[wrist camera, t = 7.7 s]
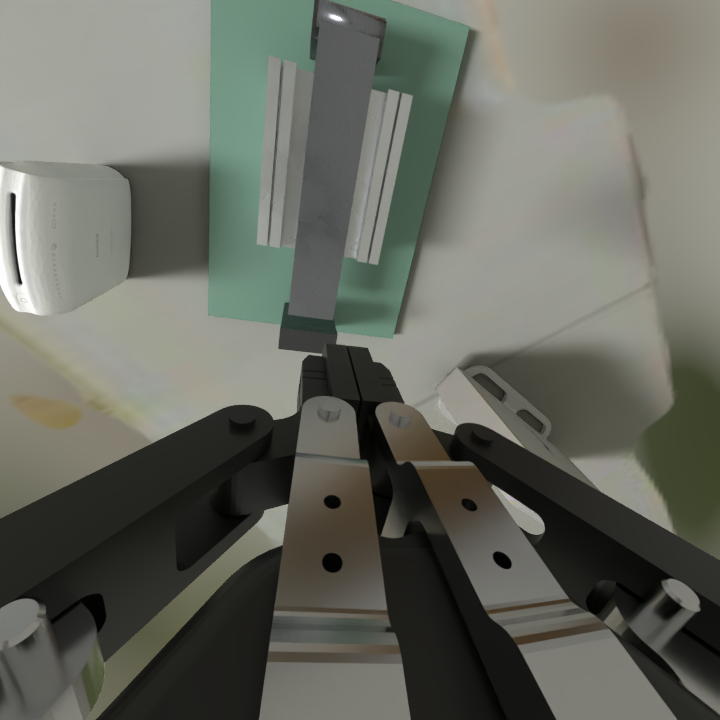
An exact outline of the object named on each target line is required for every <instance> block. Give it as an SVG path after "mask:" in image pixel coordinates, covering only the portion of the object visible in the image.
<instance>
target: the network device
mask: <svg viewBox="0 0 720 720" xmlns="http://www.w3.org/2000/svg"><path fill="white" fill-rule="evenodd" d="M479 373H483V374H485V375H487V376H488V377H489V378H490V379H491V380H492V381H494V382H495V383H496V384H497V385H498V386H499V387H501V388H502V389H503V390H504V391H505V395H504V397H503V399H502V400H501V401H499V400H498V399H497V398H496V397H494V396H493V395H492V394H491V393H490V392H488V391H487V390H486V389H485V388H484V387H482V386H481V385H480V384H479V383H477V382H476V381H475V380H474V379H473V378H472V377H473V376H474V375H476V374H479ZM435 390H436V392H437V393H438V395H439V396H440V397H439V401H438V406H439V409H440V411H441V413H442V414H443V415H444V416H445V417H446V418H447V419H449V420H450V421H451V422H453V423H454V424H456V425H457V426H458V425H460V424H462V423H476V424H480V425H483V426H485V427H488V428H490V429H492V430H494V431H495V432H497V433H499V434H501V435H502V436H504V437H506V438H507V439H509V440H511V441H513V442H514V443H516V444H518V445H520V446H521V447H523V448H525V449H527V450H528V451H530V452H532V453H534V454H535V455H537V456H539V457H541V458H542V459H544V460H546V461H548V462H549V463H551V464H553V465H554V466H556V467H558V468H560V469H561V470H563V471H565V472H567V473H568V474H570V475H572V476H574V477H575V478H577V479H579V480H581V481H582V482H584V483H586V484H588V485H589V486H591V487H593V488H595V489H596V490H598V489H597V487H596V486H595V485H594V484H593V483H592V482H591V481H590V480H589V479H588V478H587V477H586V476H585V475H584V474H583V473H582V472H581V471H580V470H579V469H578V468H577V467H576V466H575V465H574V464H573V463H572V462H571V461H570V460H569V459H568V458H567V457H566V456H565V455H564V454H563V453H562V452H561V451H560V450H559V449H558V448H556V447H555V446H554V445H553V444H552V443H550V442H549V441H548V440H547V439H546V438H547V437H548V436H549V434H550V432H551V428H552V427H551V422H550V420H549V419H548V418H547V417H546V416H545V415H543V414H542V413H541V412H540V411H539V410H538V409H537V408H535V407H534V406H533V405H532V404H531V403H530V402H528V401H527V400H526V399H525V398H524V397H523V396H522V395H520V394H519V393H518V392H517V391H516V390H515V389H513V388H512V387H511V386H510V385H509V384H508V383H507V382H505V381H504V380H503V379H502V378H501V377H500V376H499V375H497V374H496V373H495V372H494V371H493V370H492V369H490V368H489V367H487V366H483V365H477V366H473V367H470V368H468V369H466V370H465V371H463V370H462V369H460V368H459V367H458V366H457V367H456V368H455V369H454V370H453V371H452V372H451V373H450V374H449V375H448V376H447V377H446V378H445V379H444V380H443V381H442V382H441V383H440V384H439V385H438V386H437V387H436V388H435ZM446 407H447V408H446ZM522 409H525V410H528V411H529V412H530V413H531V414H532V415H534V416H535V417H536V418H537V419H538V420H539V421H541V422H542V423H543V428H542V430H541V431H540V432H539V433H538V432H537V431H536V430H535V429H533V428H532V427H531V426H530V425H528V424H527V423H526V422H525V421H524V420H522V419H521V418H520V417H519V416H518V415H516V413H517V411H519V410H522ZM499 490H500V491H501V492H502V494H503V495H504V496H505V497H506V498H507V499H508V500H509V501H510V502H511V503H512V504H513V505H514V506H515V507H516V508H518V509H519V510H521V511H522V512H524V513H525V514H527V515H528V516H530V517H531V518H533V519H534V520H536V521H538V522H539V523H541V524H542V525H544V523H543V521H542V519H541V518H540V516H539V515H538V514H537V513H535V512H534V511H532V510H531V509H529V508H528V507H526V506H525V505H523V504H522V503H520V502H519V501H517V500H516V499H514V498H513V497H511V496H510V495H508V494H507V493H505V492H504V491H502V490H501V489H499ZM598 491H599V490H598ZM544 526H545V525H544Z"/></svg>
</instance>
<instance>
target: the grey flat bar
mask: <svg viewBox="0 0 720 720" xmlns="http://www.w3.org/2000/svg"><path fill="white" fill-rule="evenodd" d="M385 26H386V18H382V17H379V16H376V15H373V14H370V13H367V12H364V11H361V10H358V9H355V8H352V7H349V6H346V5H342V4H339V3H336V2H333V1H330V0H319V3H318V13H317V23H316V27H319V34H318V43H317V52H316V61H315V70H314V80H313V89H312V98H311V107H310V116H309V125H308V135H307V144H306V153H305V162H304V171H303V181H302V190H301V199H300V208H299V217H298V226H297V236H296V245H295V254H294V263H293V272H292V282H291V291H290V300H289V309H288V315H295V316H303V317H310V318H318V319H325V320H333V317H334V311H335V305H336V299H337V293H338V287H339V281H340V275H341V269H342V263H343V257H344V251H345V245H346V239H347V233H348V227H349V221H350V215H351V209H352V203H353V197H354V191H355V185H356V179H357V173H358V167H359V161H360V155H361V149H362V143H363V137H364V131H365V125H366V119H367V113H368V107H369V101H370V95H371V89H372V83H373V77H374V71H375V65H376V59H377V53H378V47H379V46H381V44H382V41H383V37H384V32H385Z"/></svg>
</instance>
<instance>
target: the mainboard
mask: <svg viewBox="0 0 720 720" xmlns="http://www.w3.org/2000/svg"><path fill="white" fill-rule="evenodd" d="M330 1H333V2H336V3H339V4H342V5H346V6H349V7H352V8H355V9H358V10H361V11H364V12H367V13H370V14H373V15H376V16H379V17H382V18H386V22H387V24H386V30H385V36H384V41H383V47H382V53H381V58H380V60H379V62H378V63H377V65H376V67H375V71H374V77H373V83H372V89H373V90H377V91H380V92H384V93H386V92H387V91H388V89H391V90H394V91H398V92H400V93H399V95H401V94H402V93H405V94H408V95H412V96H413V98H412V103H411V108H410V113H409V118H408V122H407V127H406V132H405V137H404V142H403V146H402V151H401V156H400V161H399V166H398V170H397V175H396V180H395V185H394V190H393V194H392V199H391V204H390V209H389V214H388V218H387V223H386V228H385V233H384V237H383V242H382V247H381V252H380V257H379V261H378V265H375V264H370V263H368V262H367V263H364V262H358V261H357V260H356V259H354V258H348V257H343V263H342V269H341V275H340V281H339V287H338V293H337V299H336V305H335V311H334V322H335V326H336V331H337V332H343V333H351V334H359V335H367V336H375V337H383V338H391V339H393V335H394V331H395V327H396V323H397V319H398V315H399V311H400V307H401V303H402V299H403V295H404V291H405V287H406V283H407V279H408V275H409V271H410V267H411V263H412V258H413V254H414V250H415V246H416V242H417V238H418V234H419V230H420V226H421V222H422V218H423V214H424V210H425V206H426V202H427V198H428V194H429V190H430V186H431V182H432V178H433V174H434V170H435V166H436V162H437V157H438V153H439V149H440V145H441V141H442V137H443V133H444V129H445V125H446V121H447V117H448V113H449V109H450V105H451V101H452V97H453V93H454V89H455V85H456V81H457V77H458V73H459V69H460V65H461V61H462V57H463V52H464V48H465V44H466V40H467V36H468V32H469V28H470V27H468V26H465V25H462V24H459V23H456V22H453V21H450V20H447V19H445V18H442V17H439V16H436V15H433V14H430V13H427V12H424V11H421V10H418V9H415V8H412V7H409V6H406V5H403V4H400V3H397V2H394V1H391V0H330ZM313 10H314V0H211V81H210V189H209V298H208V316H216V317H224V318H232V319H240V320H248V321H256V322H264V323H272V324H280V325H281V321H282V315H283V309H284V303H289V300H290V291H291V282H292V272H293V263H294V254H295V248H290V247H284V246H280V248H276V247H270V244H268V245H267V246H264V245H258V244H257V231H258V215H259V200H260V184H261V168H262V153H263V137H264V122H265V106H266V90H267V75H268V59H269V55H270V56H273V57H277V58H281V60H282V64H283V65H284V60H288V61H291V62H295V63H297V68H298V69H301V70H305V71H308V72H312V73H314V70H315V61H314V60H311V59H310V41H311V29H312V19H313Z"/></svg>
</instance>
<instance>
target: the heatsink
mask: <svg viewBox="0 0 720 720" xmlns="http://www.w3.org/2000/svg"><path fill="white" fill-rule="evenodd" d="M318 3H319V0H314V10H313V19H312V29H311V41H310V59H311V60H314V61H316V52H317V43H318V34H319V27H316V23H317V13H318ZM386 24H387V22H386ZM385 30H386V26H385ZM384 36H385V32H384ZM383 41H384V37H383ZM383 41H382V44H381V46H379V47H378V53H377V59H376V65H377V63H378V62H379V60H380V58H381V53H382V47H383ZM376 65H375V67H376ZM313 80H314V73H312V72H308V71H305V70H301V69H298V68H297V63H295V62H291V61H288V60H284V65H283V64H282V60H281V58H277V57H273V56H270V55H269V59H268V75H267V90H266V106H265V122H264V137H263V153H262V168H261V184H260V200H259V215H258V231H257V244H258V245H264V246H267V245H268V244H270V247H276V248H280V246H284V247H290V248H295V245H296V236H297V226H298V217H299V208H300V199H301V190H302V181H303V171H304V162H305V153H306V144H307V135H308V125H309V116H310V107H311V98H312V89H313ZM399 93H400V92H398V91H394V90H391V89H388V91H387V92H386V93H384V92H380V91H377V90H373V89H371V95H370V101H369V107H368V113H367V119H366V125H365V131H364V137H363V143H362V149H361V155H360V161H359V167H358V173H357V179H356V185H355V191H354V197H353V203H352V209H351V215H350V221H349V227H348V233H347V239H346V245H345V251H344V257H348V258H354V259H356V260H357V261H358V262H364V263H367V262H368V263H370V264H375V265H378V261H379V257H380V252H381V247H382V242H383V237H384V233H385V228H386V223H387V218H388V214H389V209H390V204H391V199H392V194H393V190H394V185H395V180H396V175H397V170H398V166H399V161H400V156H401V151H402V146H403V142H404V137H405V132H406V127H407V122H408V118H409V113H410V108H411V103H412V98H413V96H412V95H408V94H405V93H402V94H401V95H399ZM288 309H289V303H284V309H283V315H282V321H281V328H280V338H279V347H278V349H285V350H294V351H303V352H312V353H321V354H323V348H324V344H325V343H329V344H336V340H337V331H336V326H335V322H334V317H333V320H325V319H318V318H310V317H303V316H295V315H288Z"/></svg>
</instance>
